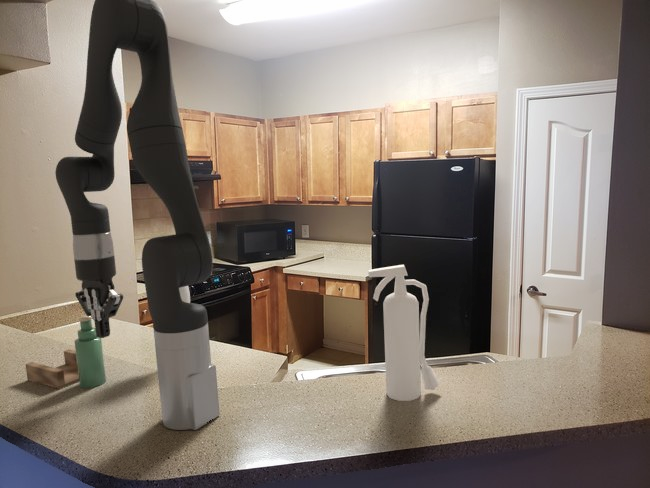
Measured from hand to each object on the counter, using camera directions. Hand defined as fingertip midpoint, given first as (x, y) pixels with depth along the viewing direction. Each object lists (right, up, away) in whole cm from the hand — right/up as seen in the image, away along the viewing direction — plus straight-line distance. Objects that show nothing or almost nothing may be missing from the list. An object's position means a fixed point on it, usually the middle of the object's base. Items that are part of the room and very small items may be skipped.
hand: (103, 336), depth 103 cm
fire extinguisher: (+62, -9, -9) cm, 64 cm away
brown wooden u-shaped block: (-13, -11, +9) cm, 19 cm away
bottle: (-4, -11, +4) cm, 12 cm away
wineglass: (+11, -9, +15) cm, 21 cm away
